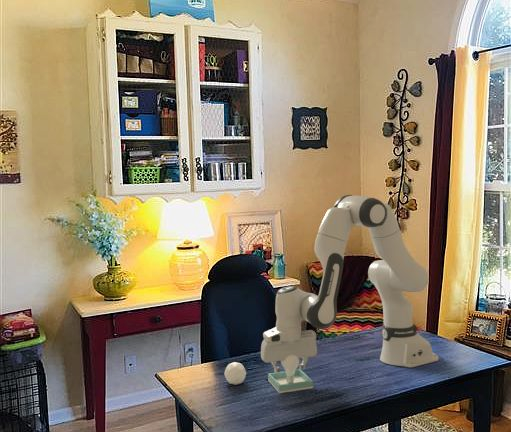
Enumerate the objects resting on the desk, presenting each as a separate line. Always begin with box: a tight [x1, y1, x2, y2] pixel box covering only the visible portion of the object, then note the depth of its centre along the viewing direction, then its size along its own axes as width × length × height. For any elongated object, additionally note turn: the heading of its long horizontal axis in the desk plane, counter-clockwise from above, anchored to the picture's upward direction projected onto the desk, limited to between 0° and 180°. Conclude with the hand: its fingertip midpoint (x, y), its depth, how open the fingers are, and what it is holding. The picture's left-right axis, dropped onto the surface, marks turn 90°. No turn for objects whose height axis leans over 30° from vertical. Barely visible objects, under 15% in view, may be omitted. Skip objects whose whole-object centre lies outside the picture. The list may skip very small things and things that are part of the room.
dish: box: [267, 368, 314, 394], centre depth 205 cm, size 12×12×3 cm
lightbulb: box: [280, 355, 300, 383], centre depth 204 cm, size 6×6×11 cm
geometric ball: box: [224, 361, 247, 386], centre depth 207 cm, size 8×8×8 cm
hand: (289, 370), depth 205 cm, fingers open, 8 cm apart
